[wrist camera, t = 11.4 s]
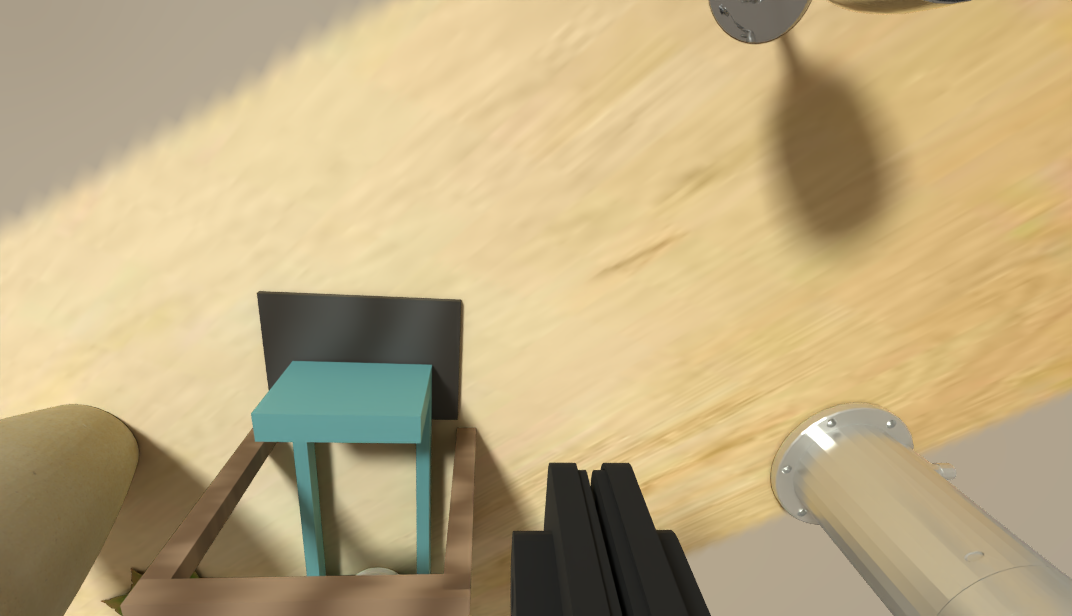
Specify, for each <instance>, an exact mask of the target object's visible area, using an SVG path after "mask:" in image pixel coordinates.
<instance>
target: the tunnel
mask: <svg viewBox="0 0 1072 616" xmlns="http://www.w3.org/2000/svg"><path fill="white" fill-rule="evenodd" d="M257 298H258V306H259V314H260V323H261V331H262V339H263V347H264V355H265V364H266V372H267V380H268V388H269V390H270V389H271V388H272V387H273V385H274V384H275V383H276V381H277V380H278V379H279V378H280V376H281V375H282V374H283V373H284V371H285V370H286V369H287V367H288V366H289V365H290V364H291V362H292V361H314V362H350V363H386V364H422V365H432V419H435V420H457V419H458V388H459V351H460V315H461V300H455V299H431V298H407V297H383V296H360V295H336V294H312V293H289V292H265V291H259V292H258V293H257ZM276 443H277V442H255V438H254V431H253V428H252V429H251V431H250V432H249V433H248V435H247V436H246V438H245V439H244V440H243V442H242V443H241V444H240V446H239V447H238V448H237V450H236V451H235V452H234V454H233V455H232V456H231V458H230V459H229V460H228V462H227V463H226V464H225V466H224V467H223V468H222V470H221V471H220V472H219V474H218V475H217V476H216V478H215V479H214V480H213V482H212V483H211V484H210V486H209V487H208V488H207V490H206V491H205V492H204V494H203V495H202V496H201V498H200V499H199V500H198V502H197V503H196V504H195V506H194V507H193V508H192V510H191V511H190V513H189V514H188V515H187V517H186V518H185V519H184V521H183V522H182V523H181V525H180V526H179V527H178V529H177V530H176V531H175V533H174V534H173V535H172V537H171V538H170V539H169V541H168V542H167V543H166V545H165V546H164V547H163V549H162V550H161V551H160V553H159V554H158V555H157V557H156V558H155V559H154V561H153V562H152V563H151V565H150V566H149V567H148V569H147V570H146V571H145V573H144V574H143V575H142V577H141V578H140V579H139V581H138V582H137V584H136V585H135V586H134V588H133V589H132V590H131V592H130V593H129V594H128V596H127V597H126V598H125V600H124V601H123V602H122V604H121V605H120V607H121V611H122V614H123V616H470V593H471V563H472V534H473V504H474V474H475V445H476V428H457V437H456V448H455V459H454V469H453V480H452V491H451V501H450V512H449V523H448V533H447V544H446V555H445V566H444V574H411V575H356V576H300V577H244V578H190V577H191V575H192V574H193V572H194V571H195V569H196V567H197V566H198V564H199V563H200V561H201V560H202V558H203V557H204V555H205V553H206V552H207V550H208V549H209V547H210V546H211V544H212V543H213V541H214V539H215V538H216V536H217V535H218V533H219V532H220V530H221V528H222V527H223V525H224V524H225V522H226V521H227V519H228V518H229V516H230V514H231V513H232V511H233V510H234V508H235V507H236V505H237V503H238V502H239V500H240V499H241V497H242V496H243V494H244V493H245V491H246V489H247V488H248V486H249V485H250V483H251V482H252V480H253V478H254V477H255V475H256V474H257V472H258V471H259V469H260V468H261V466H262V464H263V463H264V461H265V460H266V458H267V457H268V455H269V454H270V452H271V450H272V449H273V447H274V446H275V444H276Z"/></svg>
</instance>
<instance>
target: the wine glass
mask: <svg viewBox="0 0 1072 616" xmlns="http://www.w3.org/2000/svg"><path fill="white" fill-rule="evenodd" d="M826 1H828V2H830V3H832V4H833V5H835V6H837V7H840V8H842V9H846V10H849V11H853V12H858V13H866V14H882V15H884V14H907V13H913V12H919V11H925V10H931V9H937V8H943V7H947V6H951V5H956V4H960V3H964V2H968V1H971V0H826ZM810 2H811V0H709V5H710V8H711V11H712V14H713V16H714V17H715V19H716V21H717V23H718V24H719V25H720V27H721V28H722V29H723V30H724V31H725V32H726V33H728V34H729V35H730V36H731V37H733V38H735V39H737V40H739V41H743V42H747V43H762V42H768V41H770V40H773V39H776V38H778V37H779V36H781V35H783V34H785V33H786V32H787V31H788V30H790V29H791V28H792V27H793V26H794V25H795V24H796V23H797V22H798V21H799V20H800V19H801V17H802V16H803V14H804V13H805V11H806V10H807V8H808V6H809V4H810Z"/></svg>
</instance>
